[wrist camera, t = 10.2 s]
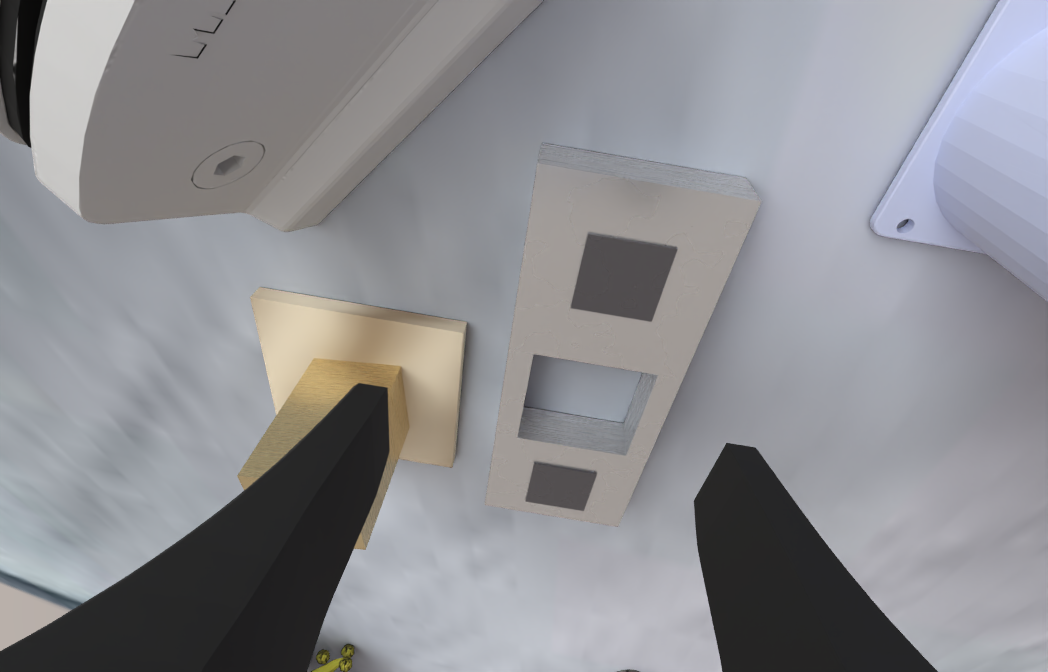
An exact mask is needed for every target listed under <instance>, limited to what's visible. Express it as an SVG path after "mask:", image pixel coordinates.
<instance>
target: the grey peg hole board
mask: <svg viewBox="0 0 1048 672" xmlns="http://www.w3.org/2000/svg"><path fill="white" fill-rule="evenodd" d="M761 202H762V201H761V200H760V198H759V197H758V195H757V194H756V192H755V191H754V189H753V188H752V186H751V185H750V183H749V182H748V180H747V179H746V178H744V177H738V176H733V175H727V174H721V173H715V172H709V171H703V170H698V169H692V168H686V167H680V166H674V165H668V164H662V163H657V162H651V161H645V160H639V159H633V158H627V157H622V156H616V155H610V154H604V153H598V152H592V151H587V150H581V149H575V148H569V147H563V146H557V145H551V144H546V143H542V144H541V149H540V154H539V158H538V163H537V169H536V175H535V182H534V188H533V195H532V201H531V208H530V214H529V221H528V227H527V234H526V240H525V247H524V253H523V260H522V266H521V273H520V279H519V286H518V292H517V298H516V305H515V311H514V318H513V324H512V331H511V337H510V344H509V350H508V357H507V363H506V370H505V376H504V383H503V389H502V396H501V402H500V409H499V415H498V422H497V428H496V434H495V441H494V447H493V454H492V460H491V467H490V473H489V480H488V486H487V493H486V499H485V505H488V506H495V507H501V508H507V509H513V510H519V511H525V512H531V513H537V514H543V515H549V516H555V517H561V518H567V519H573V520H579V521H585V522H591V523H597V524H603V525H609V526H615V527H618V526H619V523H620V521H621V519H622V517H623V514H624V512H625V510H626V507H627V505H628V503H629V501H630V498H631V496H632V494H633V492H634V489H635V487H636V485H637V483H638V480H639V478H640V476H641V474H642V471H643V469H644V467H645V464H646V462H647V460H648V458H649V455H650V453H651V451H652V449H653V446H654V444H655V442H656V440H657V437H658V435H659V433H660V431H661V428H662V426H663V424H664V421H665V419H666V417H667V415H668V412H669V410H670V408H671V406H672V403H673V401H674V399H675V397H676V394H677V392H678V390H679V388H680V385H681V383H682V381H683V378H684V376H685V374H686V372H687V369H688V367H689V365H690V363H691V360H692V358H693V356H694V354H695V351H696V349H697V347H698V344H699V342H700V340H701V338H702V335H703V333H704V331H705V329H706V326H707V324H708V322H709V320H710V317H711V315H712V313H713V311H714V308H715V306H716V304H717V301H718V299H719V297H720V295H721V292H722V290H723V288H724V286H725V283H726V281H727V279H728V277H729V274H730V272H731V270H732V268H733V265H734V263H735V261H736V258H737V256H738V254H739V252H740V249H741V247H742V245H743V243H744V240H745V238H746V236H747V234H748V231H749V229H750V227H751V225H752V222H753V220H754V218H755V215H756V213H757V211H758V209H759V206H760V204H761ZM533 354H536V355H542V356H548V357H554V358H560V359H566V360H572V361H578V362H584V363H590V364H596V365H602V366H608V367H614V368H620V369H625V370H631V371H637V372H643V373H642V375H641V378H640V381H639V383H638V386H637V389H636V391H635V394H634V397H633V399H632V402H631V405H630V408H629V410H628V413H627V416H626V418H625V421H624V423H618V422H612V421H606V420H600V419H594V418H588V417H582V416H576V415H570V414H564V413H558V412H552V411H546V410H540V409H534V408H528V407H523V406H524V401H525V396H526V390H527V385H528V380H529V375H530V370H531V365H532V360H533Z"/></svg>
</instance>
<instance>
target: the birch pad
mask: <svg viewBox="0 0 1048 672" xmlns="http://www.w3.org/2000/svg"><path fill="white" fill-rule="evenodd" d="M250 299H251V303H252V307H253V312H254V316H255V321H256V325H257V330H258V334H259V339H260V343H261V348H262V352H263V357H264V361H265V366H266V370H267V375H268V379H269V384H270V388H271V393H272V397H273V402H274V406H275V410H276V415H277V414H278V412H279V411H280V409H281V408H282V406H283V405H284V403H285V402H286V400H287V398H288V397H289V395H290V394H291V392H292V391H293V389H294V388H295V386H296V385H297V383H298V382H299V380H300V378H301V377H302V375H303V374H304V372H305V371H306V369H307V368H308V366H309V365H310V363H311V361H312V360H313V358H318V359H329V360H340V361H351V362H363V363H374V364H385V365H396V366H401V370H402V377H403V384H404V391H405V398H406V405H407V412H408V419H409V426H410V428H409V431H408V434H407V437H406V439H405V442H404V445H403V448H402V450H401V453H400V456H399V459H402V460H408V461H414V462H420V463H426V464H432V465H438V466H444V467H450V468H452V467H453V463H454V459H455V453H456V441H457V430H458V418H459V407H460V395H461V384H462V372H463V361H464V349H465V338H466V326H467V322H464V321H458V320H452V319H446V318H440V317H434V316H428V315H422V314H416V313H410V312H405V311H399V310H393V309H387V308H381V307H375V306H369V305H363V304H357V303H351V302H345V301H339V300H333V299H327V298H321V297H315V296H309V295H303V294H298V293H292V292H286V291H280V290H274V289H268V288H262V287H259V288H258V290H257V291H256V292H255V293H254V294H253V295H252V296H251V297H250Z"/></svg>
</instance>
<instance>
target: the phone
mask: <svg viewBox="0 0 1048 672" xmlns="http://www.w3.org/2000/svg"><path fill="white" fill-rule="evenodd" d="M617 672H639V671H636V670H621V671H617Z"/></svg>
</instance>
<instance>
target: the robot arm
mask: <svg viewBox="0 0 1048 672" xmlns="http://www.w3.org/2000/svg"><path fill="white" fill-rule="evenodd" d="M905 219H909V220H908V223H907V224H906V225H905V226H903V227H901V228H897V225H898V224H899V223H900V222H901V221H903V220H905ZM870 227H871V228H872V230H873V231H874V232H875V233H876V234H877V235H880V236H882V237H888V238H894V239H900V240H906V241H912V242H918V243H923V244H929V245H935V246H941V247H947V248H953V249H959V250H964V251H970V252H976V253H982V254H988V255H989V256H990V257H991V258H993V259H994V260H995V261H996V262H998V263H999V264H1000V265H1001V266H1003V267H1004V268H1005V269H1006V270H1008V271H1009V272H1010V273H1012V274H1013V275H1014V276H1015V277H1017V278H1018V279H1019V280H1020V281H1022V282H1023V283H1024V284H1025V285H1027V286H1028V287H1029V288H1030V289H1032V290H1033V291H1034V292H1036V293H1037V294H1038V295H1039V296H1041V297H1042V298H1043V299H1044V300H1046V301H1047V302H1048V0H1000V1H999V2H998V4H997V6H996V7H995V9H994V11H993V12H992V14H991V16H990V18H989V19H988V21H987V23H986V24H985V26H984V28H983V29H982V31H981V33H980V34H979V36H978V38H977V40H976V41H975V43H974V45H973V46H972V48H971V50H970V51H969V53H968V55H967V56H966V58H965V60H964V62H963V63H962V65H961V67H960V68H959V70H958V72H957V73H956V75H955V77H954V78H953V80H952V82H951V84H950V85H949V87H948V89H947V90H946V92H945V94H944V95H943V97H942V99H941V100H940V102H939V104H938V106H937V107H936V109H935V111H934V112H933V114H932V116H931V117H930V119H929V121H928V122H927V124H926V126H925V128H924V129H923V131H922V133H921V134H920V136H919V138H918V139H917V141H916V143H915V145H914V146H913V148H912V150H911V151H910V153H909V155H908V156H907V158H906V160H905V161H904V163H903V165H902V167H901V168H900V170H899V172H898V173H897V175H896V177H895V178H894V180H893V182H892V183H891V185H890V187H889V189H888V190H887V192H886V194H885V195H884V197H883V199H882V200H881V202H880V204H879V205H878V207H877V209H876V211H875V212H874V214H873V216H872V218H871V220H870ZM389 452H390V447H389V415H388V388H387V387H381V386H375V385H369V384H363V383H358V384H356V385H355V386H353V387H352V388H351V390H350V391H349V392H348V393H347V394H346V395H345V396H344V397H343V398H342V399H341V400H340V401H339V402H338V403H337V405H336V406H335V407H334V408H333V409H332V410H331V411H330V412H329V413H328V414H327V415H326V416H325V417H324V418H323V419H322V420H321V421H320V422H319V423H318V424H317V425H316V426H315V427H314V428H313V429H312V430H311V431H310V432H309V433H308V434H307V435H306V436H305V437H304V438H302V439H301V440H300V441H299V442H298V443H297V444H296V445H295V446H294V447H293V448H292V449H291V450H290V451H289V452H288V453H287V454H286V455H284V456H283V457H282V458H281V459H280V460H279V461H278V462H277V463H276V464H275V465H273V466H272V467H271V468H270V469H269V470H268V471H266V472H265V473H264V474H263V475H262V476H261V477H259V478H258V479H257V480H256V481H255V482H254V483H252V484H251V485H250V486H249V487H248V488H247V489H245V490H244V491H243V492H242V493H241V494H240V495H238V496H237V497H236V498H235V499H233V500H232V501H231V502H230V503H228V504H227V505H226V506H225V507H223V508H222V509H221V510H220V511H218V512H217V513H216V514H214V515H213V516H212V517H211V518H209V519H208V520H207V521H205V522H204V523H202V524H201V525H200V526H198V527H197V528H196V529H194V530H193V531H192V532H190V533H189V534H188V535H186V536H185V537H184V538H182V539H181V540H179V541H178V542H176V543H175V544H173V545H172V546H171V547H169V548H168V549H166V550H165V551H163V552H162V553H161V554H159V555H158V556H156V557H155V558H153V559H152V560H150V561H149V562H148V563H146V564H145V565H143V566H142V567H140V568H139V569H137V570H136V571H134V572H133V573H131V574H130V575H128V576H126V577H125V578H123V579H122V580H120V581H119V582H117V583H116V584H114V585H112V586H111V587H109V588H107V589H106V590H104V591H102V592H101V593H99V594H98V595H96V596H94V597H93V598H91V599H89V600H88V601H86V602H84V603H83V604H81V605H80V606H78V607H76V608H75V609H73V610H71V611H70V612H68V613H66V614H65V615H63V616H62V617H60V618H58V619H57V620H55V621H53V622H52V623H50V624H48V625H47V626H45V627H43V628H41V629H40V630H38V631H36V632H35V633H33V634H31V635H29V636H27V637H26V638H24V639H22V640H20V641H18V642H16V643H15V644H13V645H11V646H9V647H7V648H5V649H4V650H2V651H0V672H307V670H308V667H309V664H310V661H311V658H312V655H313V651H314V648H315V645H316V642H317V639H318V636H319V633H320V630H321V627H322V624H323V621H324V618H325V616H326V613H327V611H328V608H329V605H330V603H331V600H332V598H333V595H334V593H335V591H336V588H337V586H338V584H339V581H340V579H341V577H342V574H343V572H344V570H345V568H346V565H347V563H348V561H349V558H350V556H351V554H352V551H353V549H354V547H355V544H356V542H357V540H358V538H359V535H360V533H361V531H362V528H363V526H364V524H365V521H366V519H367V517H368V514H369V512H370V509H371V507H372V505H373V502H374V500H375V498H376V495H377V492H378V489H379V485H380V482H381V479H382V476H383V472H384V469H385V465H386V462H387V459H388V455H389ZM694 508H695V524H696V535H697V546H698V552H699V557H700V563H701V568H702V573H703V578H704V583H705V587H706V592H707V597H708V602H709V607H710V611H711V616H712V621H713V626H714V630H715V635H716V640H717V645H718V650H719V654H720V660H721V666H722V671H723V672H938V671H937V670H936V669H935V668H934V667H933V666H932V665H931V664H930V663H929V662H928V661H927V660H926V659H925V658H924V657H923V656H922V655H921V654H920V653H919V651H918V650H917V649H916V648H915V647H914V646H913V645H912V644H911V643H910V642H909V641H908V640H907V639H906V637H905V636H904V635H903V634H902V633H901V632H900V631H899V630H898V629H897V628H896V627H895V626H894V625H893V623H892V622H891V621H890V620H889V619H888V618H887V617H886V616H885V614H884V613H883V612H882V611H881V610H880V609H879V608H878V607H877V605H876V604H875V603H874V602H873V601H872V600H871V598H870V597H869V596H868V595H867V594H866V592H865V591H864V590H863V589H862V588H861V586H860V585H859V584H858V583H857V582H856V580H855V579H854V578H853V577H852V576H851V574H850V573H849V572H848V571H847V570H846V568H845V567H844V566H843V564H842V563H841V562H840V561H839V559H838V558H837V557H836V556H835V554H834V553H833V552H832V551H831V549H830V548H829V547H828V545H827V544H826V543H825V542H824V540H823V539H822V538H821V536H820V535H819V534H818V532H817V531H816V530H815V528H814V527H813V526H812V524H811V523H810V522H809V520H808V519H807V518H806V516H805V515H804V514H803V512H802V511H801V510H800V508H799V507H798V505H797V504H796V503H795V501H794V500H793V499H792V497H791V496H790V494H789V493H788V492H787V490H786V489H785V488H784V486H783V485H782V483H781V482H780V481H779V479H778V478H777V476H776V475H775V474H774V472H773V471H772V469H771V468H770V467H769V465H768V464H767V463H766V461H765V460H764V458H763V457H762V456H761V454H760V453H759V452H758V450H757V449H756V448H755V447H749V446H743V445H737V444H730V443H726V445H725V447H724V449H723V450H722V452H721V454H720V456H719V457H718V459H717V461H716V463H715V465H714V466H713V468H712V470H711V472H710V473H709V475H708V477H707V479H706V480H705V482H704V484H703V486H702V487H701V489H700V491H699V493H698V494H697V496H696V498H695V500H694Z"/></svg>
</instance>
